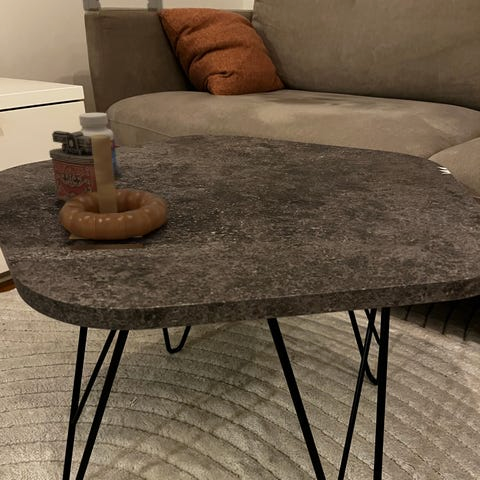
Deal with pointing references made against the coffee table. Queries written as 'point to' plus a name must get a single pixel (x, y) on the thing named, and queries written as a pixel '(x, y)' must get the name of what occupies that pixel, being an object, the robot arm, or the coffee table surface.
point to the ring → (114, 215)
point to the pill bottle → (98, 130)
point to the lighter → (73, 165)
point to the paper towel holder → (104, 189)
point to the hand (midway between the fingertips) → (124, 11)
